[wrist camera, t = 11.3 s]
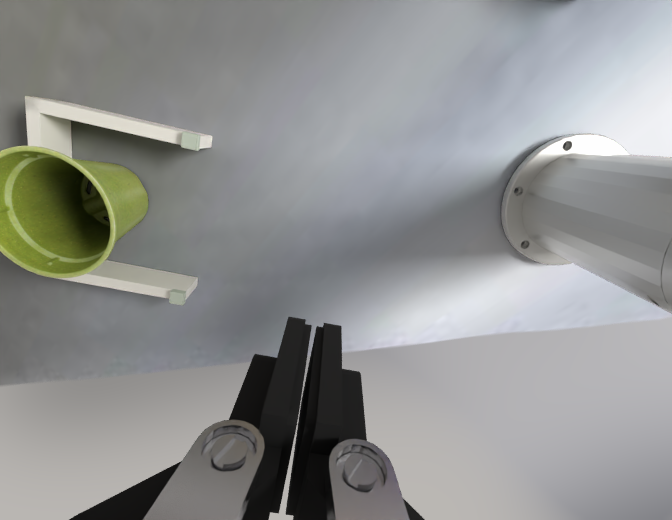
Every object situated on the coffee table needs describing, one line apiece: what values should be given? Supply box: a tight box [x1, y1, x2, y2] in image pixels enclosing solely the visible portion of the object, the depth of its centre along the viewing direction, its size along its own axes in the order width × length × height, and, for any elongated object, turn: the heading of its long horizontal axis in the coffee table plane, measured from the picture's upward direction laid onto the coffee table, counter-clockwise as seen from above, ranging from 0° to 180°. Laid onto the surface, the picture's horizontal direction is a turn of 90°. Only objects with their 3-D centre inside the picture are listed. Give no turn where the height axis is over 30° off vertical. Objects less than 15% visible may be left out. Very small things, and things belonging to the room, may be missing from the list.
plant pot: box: [0, 146, 148, 278], centre depth 28 cm, size 9×9×9 cm
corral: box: [25, 96, 212, 305], centre depth 31 cm, size 13×15×4 cm
